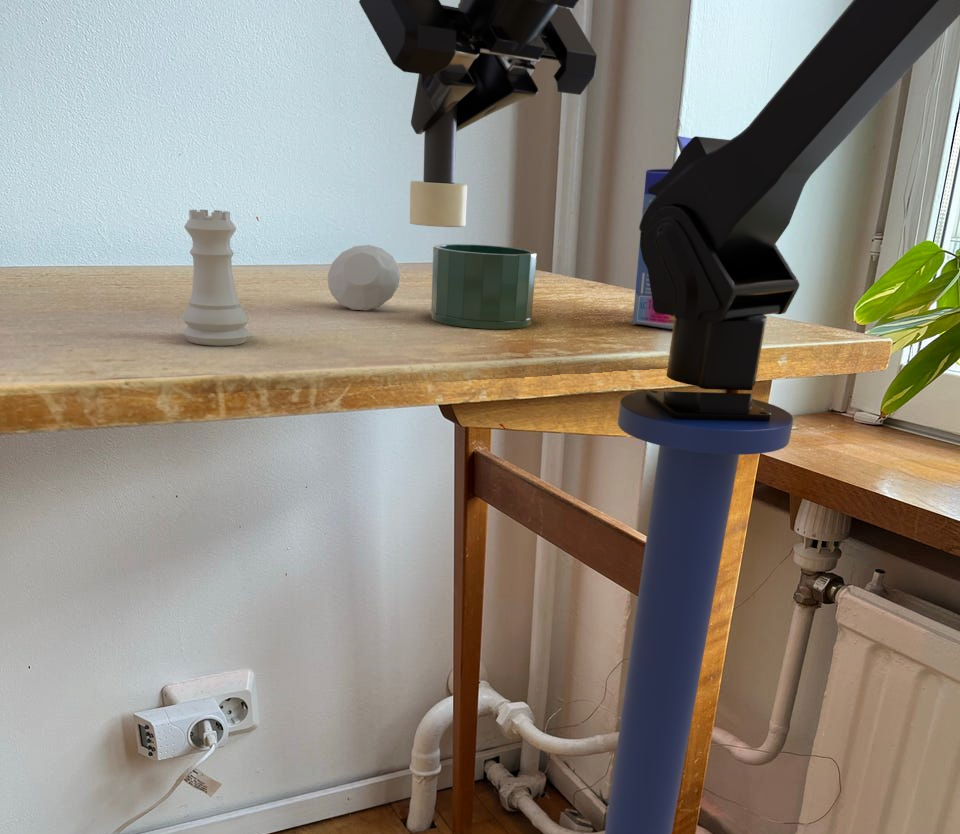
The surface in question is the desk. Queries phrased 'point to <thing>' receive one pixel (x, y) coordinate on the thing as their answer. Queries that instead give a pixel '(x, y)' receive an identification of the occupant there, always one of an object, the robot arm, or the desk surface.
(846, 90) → the robot arm
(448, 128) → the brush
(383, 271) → the gemstone
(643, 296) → the ink cartridge box
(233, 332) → the rook chess piece
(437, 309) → the green faceted pot
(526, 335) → the desk surface
